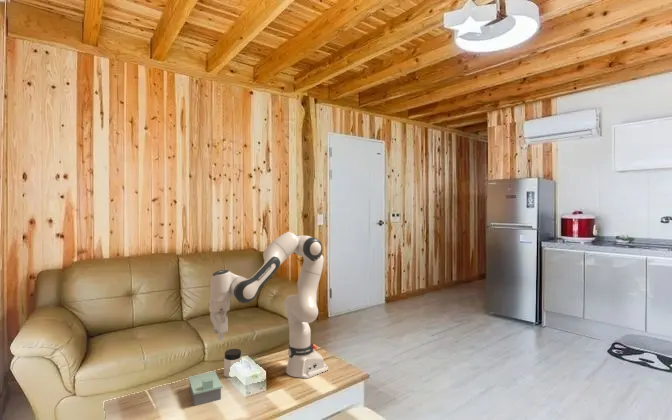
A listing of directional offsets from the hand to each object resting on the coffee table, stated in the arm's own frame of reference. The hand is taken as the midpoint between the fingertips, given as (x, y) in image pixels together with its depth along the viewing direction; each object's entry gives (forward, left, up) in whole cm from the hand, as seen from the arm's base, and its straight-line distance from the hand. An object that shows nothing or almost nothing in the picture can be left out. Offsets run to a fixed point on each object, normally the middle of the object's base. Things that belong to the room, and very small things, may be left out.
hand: (218, 336), depth 161 cm
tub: (+5, -3, -27) cm, 28 cm away
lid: (+5, -3, -21) cm, 22 cm away
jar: (-11, -17, -28) cm, 34 cm away
